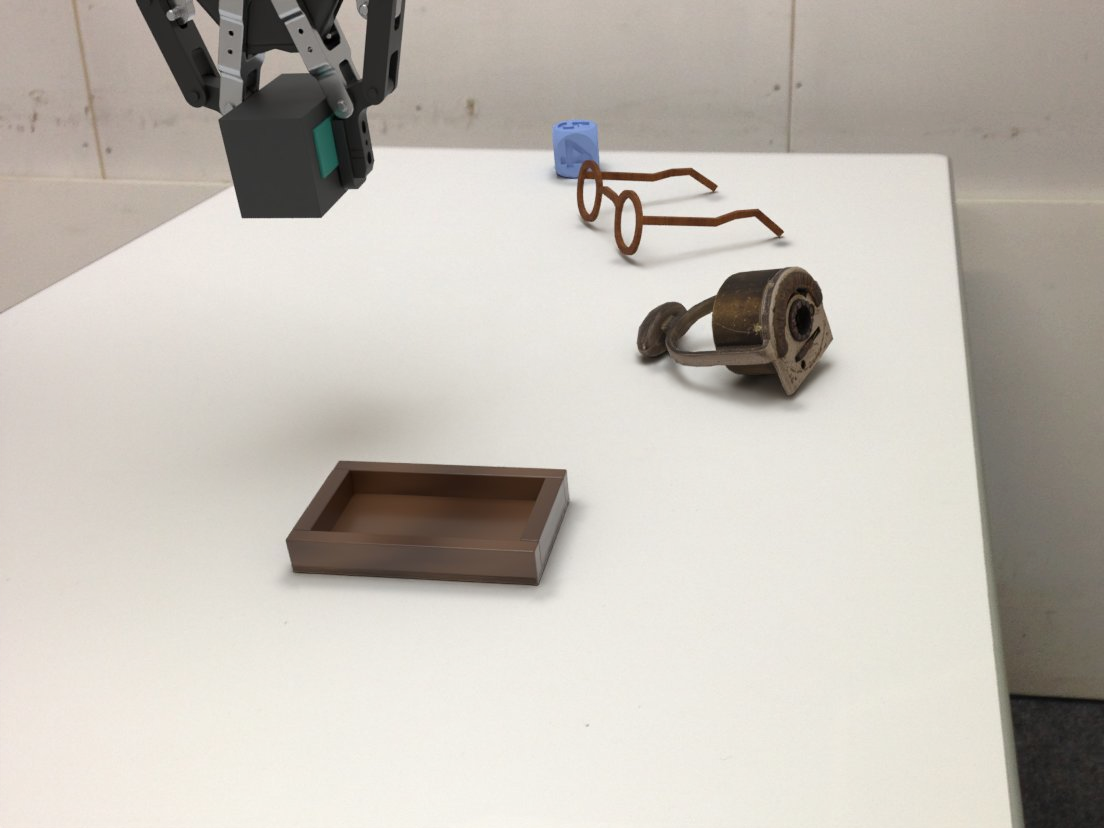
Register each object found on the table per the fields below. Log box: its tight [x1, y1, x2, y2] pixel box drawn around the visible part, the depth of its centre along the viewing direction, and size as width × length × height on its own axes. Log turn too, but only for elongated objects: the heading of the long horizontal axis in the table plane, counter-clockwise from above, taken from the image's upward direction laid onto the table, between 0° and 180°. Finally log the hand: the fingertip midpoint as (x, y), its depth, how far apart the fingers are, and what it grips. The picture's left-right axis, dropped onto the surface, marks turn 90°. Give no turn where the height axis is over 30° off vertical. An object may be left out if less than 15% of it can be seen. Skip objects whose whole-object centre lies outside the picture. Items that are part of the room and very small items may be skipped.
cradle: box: [285, 460, 570, 586], centre depth 68 cm, size 13×8×2 cm, turn 81°
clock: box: [217, 72, 350, 219], centre depth 69 cm, size 9×4×5 cm, turn 172°
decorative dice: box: [552, 118, 601, 179], centre depth 115 cm, size 4×4×4 cm
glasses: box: [576, 160, 785, 256], centre depth 102 cm, size 13×13×5 cm
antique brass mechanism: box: [636, 266, 834, 396], centre depth 81 cm, size 7×13×10 cm
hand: (310, 183), depth 70 cm, fingers closed on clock, 4 cm apart
